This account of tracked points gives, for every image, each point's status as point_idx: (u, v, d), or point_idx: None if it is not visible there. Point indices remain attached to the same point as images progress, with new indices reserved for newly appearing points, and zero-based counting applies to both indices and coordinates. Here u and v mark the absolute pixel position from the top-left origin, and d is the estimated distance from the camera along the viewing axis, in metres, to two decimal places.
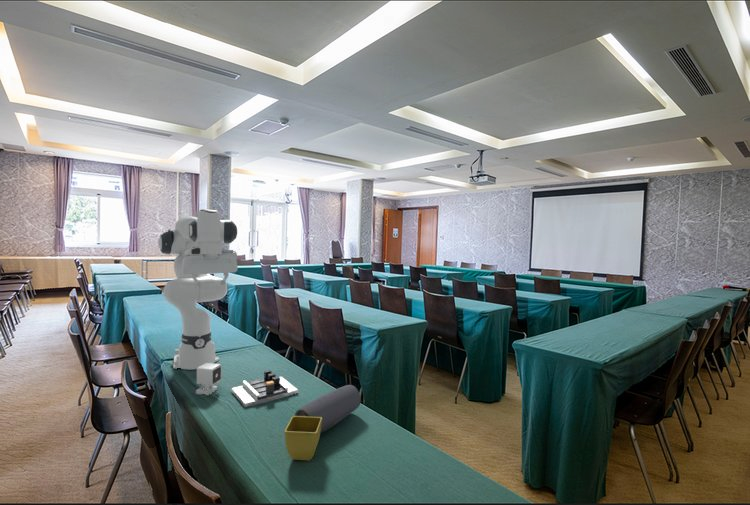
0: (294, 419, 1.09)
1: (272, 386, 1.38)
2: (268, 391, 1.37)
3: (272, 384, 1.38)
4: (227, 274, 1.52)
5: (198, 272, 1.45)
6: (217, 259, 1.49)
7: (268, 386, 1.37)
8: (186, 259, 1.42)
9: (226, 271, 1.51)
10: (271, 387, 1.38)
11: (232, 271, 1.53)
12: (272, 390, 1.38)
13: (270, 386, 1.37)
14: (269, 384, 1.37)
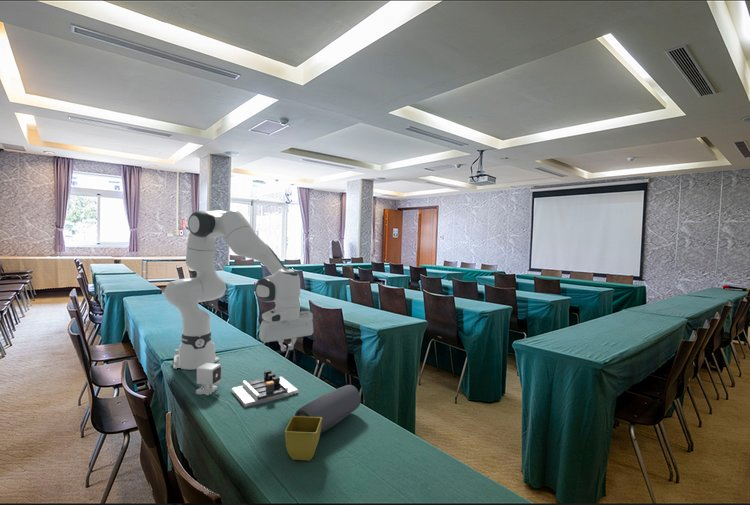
0: (294, 419, 1.09)
1: (272, 386, 1.38)
2: (268, 391, 1.37)
3: (272, 384, 1.38)
4: (295, 339, 1.42)
5: (276, 339, 1.36)
6: (295, 323, 1.41)
7: (268, 386, 1.37)
8: (266, 327, 1.33)
9: (303, 335, 1.43)
10: (271, 387, 1.38)
11: (308, 334, 1.44)
12: (272, 390, 1.38)
13: (270, 386, 1.37)
14: (269, 384, 1.37)
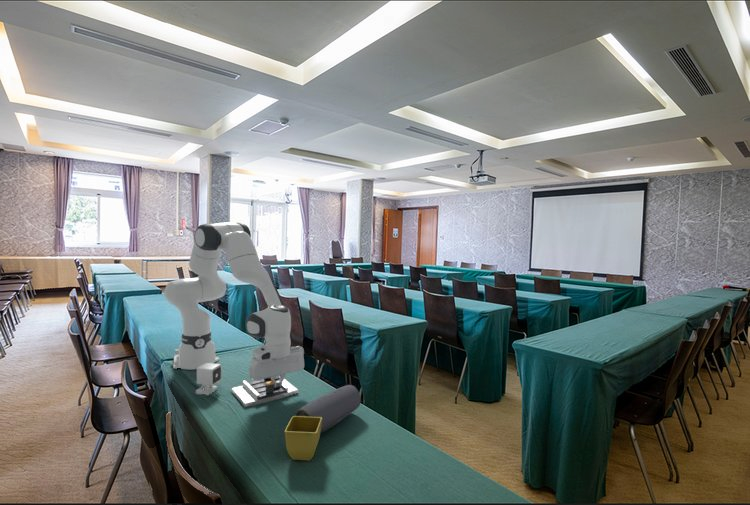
0: (294, 419, 1.09)
1: (272, 386, 1.38)
2: (268, 391, 1.37)
3: (272, 384, 1.38)
4: (284, 375, 1.40)
5: (267, 376, 1.35)
6: None
7: (268, 386, 1.37)
8: (256, 365, 1.32)
9: (293, 370, 1.42)
10: (271, 387, 1.37)
11: (299, 369, 1.43)
12: (272, 390, 1.38)
13: (270, 386, 1.37)
14: (269, 384, 1.37)
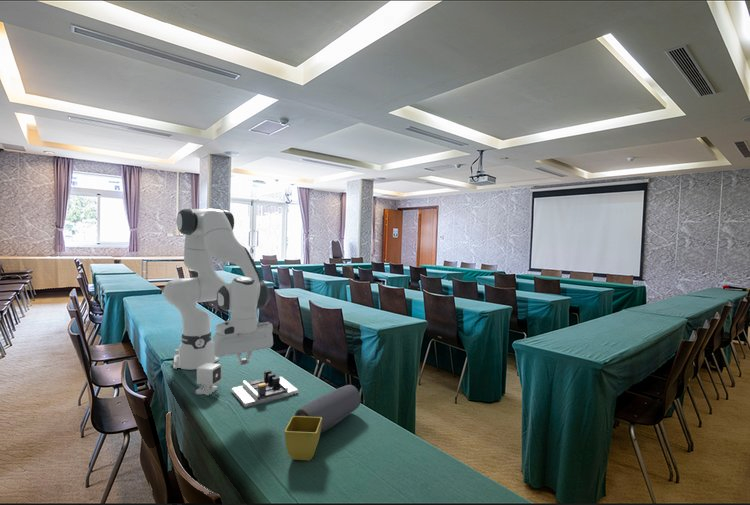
0: (294, 419, 1.09)
1: (264, 388, 1.36)
2: (260, 393, 1.35)
3: (264, 386, 1.36)
4: (250, 352, 1.32)
5: (231, 352, 1.27)
6: (252, 335, 1.31)
7: (260, 388, 1.35)
8: (218, 340, 1.23)
9: (261, 347, 1.33)
10: (263, 389, 1.36)
11: (267, 347, 1.35)
12: (264, 392, 1.36)
13: (262, 388, 1.35)
14: (261, 386, 1.35)
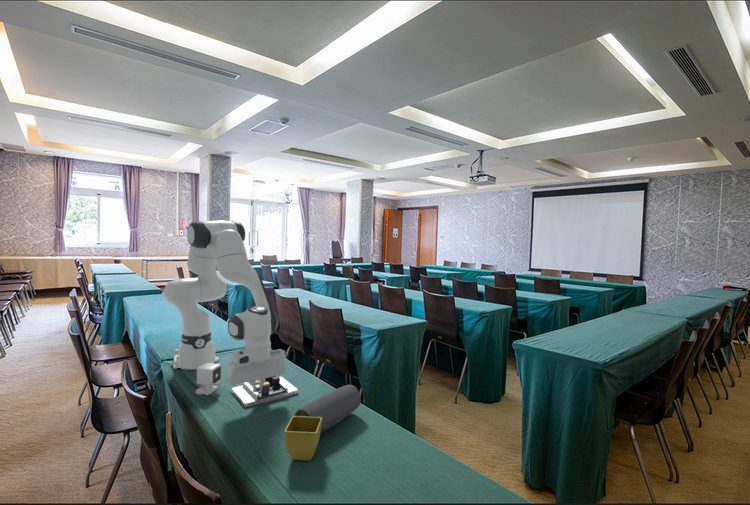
0: (294, 419, 1.09)
1: (267, 387, 1.37)
2: (263, 392, 1.36)
3: (267, 385, 1.37)
4: (264, 379, 1.35)
5: (245, 381, 1.30)
6: (265, 363, 1.35)
7: (263, 387, 1.36)
8: (233, 369, 1.27)
9: (274, 375, 1.37)
10: (266, 388, 1.36)
11: (280, 374, 1.38)
12: (267, 391, 1.37)
13: (266, 387, 1.36)
14: (264, 385, 1.36)
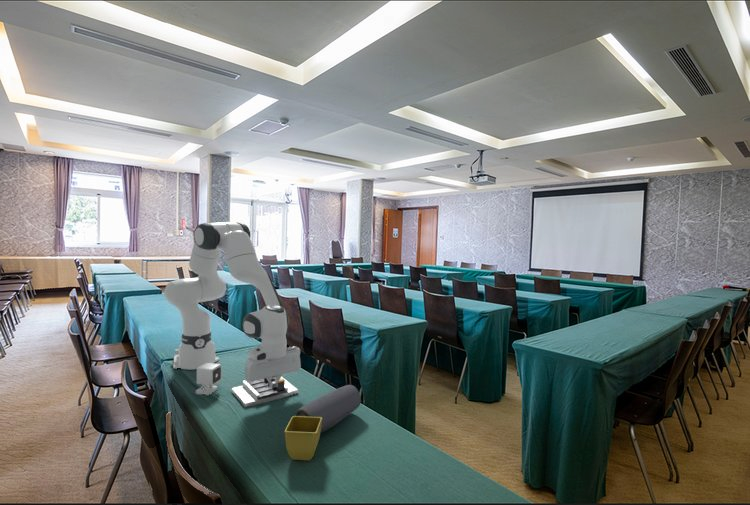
0: (294, 419, 1.09)
1: (283, 383, 1.40)
2: (279, 388, 1.39)
3: (283, 381, 1.40)
4: (279, 376, 1.39)
5: (262, 377, 1.34)
6: (281, 360, 1.38)
7: (279, 383, 1.39)
8: (251, 366, 1.31)
9: (289, 371, 1.40)
10: (282, 384, 1.40)
11: (295, 370, 1.42)
12: (283, 387, 1.40)
13: (281, 384, 1.40)
14: (280, 381, 1.39)
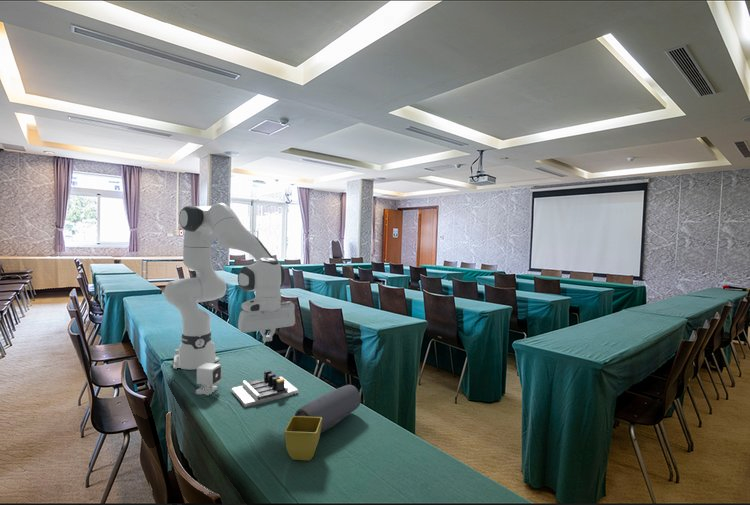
0: (294, 419, 1.09)
1: (283, 383, 1.40)
2: (279, 388, 1.39)
3: (283, 381, 1.40)
4: (274, 330, 1.38)
5: (256, 329, 1.33)
6: (275, 313, 1.37)
7: (279, 383, 1.39)
8: (245, 317, 1.29)
9: (284, 325, 1.39)
10: (282, 384, 1.40)
11: (290, 325, 1.41)
12: (283, 387, 1.40)
13: (281, 384, 1.40)
14: (280, 381, 1.39)
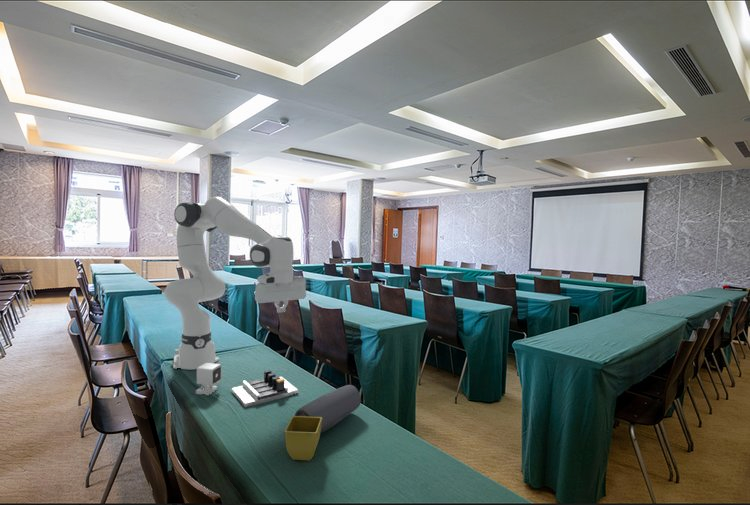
0: (294, 419, 1.09)
1: (283, 383, 1.40)
2: (279, 388, 1.39)
3: (283, 381, 1.40)
4: (287, 301, 1.50)
5: (271, 300, 1.45)
6: (288, 286, 1.49)
7: (279, 383, 1.39)
8: (261, 288, 1.42)
9: (296, 298, 1.51)
10: (282, 384, 1.40)
11: (301, 298, 1.53)
12: (283, 387, 1.40)
13: (281, 384, 1.40)
14: (280, 381, 1.39)
